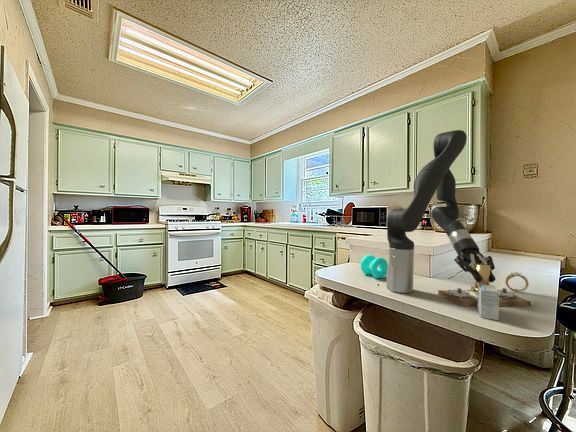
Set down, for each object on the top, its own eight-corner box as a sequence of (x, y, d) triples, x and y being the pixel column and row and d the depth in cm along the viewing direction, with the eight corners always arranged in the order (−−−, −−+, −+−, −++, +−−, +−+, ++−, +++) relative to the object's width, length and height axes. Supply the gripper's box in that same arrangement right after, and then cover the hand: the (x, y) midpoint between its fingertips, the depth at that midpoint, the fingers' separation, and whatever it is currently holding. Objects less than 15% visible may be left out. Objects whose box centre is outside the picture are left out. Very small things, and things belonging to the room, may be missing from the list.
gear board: (460, 306, 85) (460, 300, 85) (438, 294, 97) (438, 289, 97) (530, 305, 86) (531, 300, 86) (500, 294, 98) (500, 289, 98)
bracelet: (505, 291, 102) (506, 271, 102) (504, 289, 105) (505, 270, 104) (529, 294, 98) (529, 274, 98) (527, 292, 101) (527, 272, 101)
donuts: (374, 273, 129) (374, 253, 129) (389, 277, 120) (389, 257, 120) (359, 274, 125) (359, 255, 125) (373, 280, 116) (373, 258, 116)
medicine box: (498, 321, 74) (499, 292, 74) (479, 317, 76) (480, 289, 76) (494, 312, 81) (495, 285, 80) (477, 309, 83) (477, 283, 83)
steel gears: (456, 298, 88) (456, 291, 88) (443, 292, 95) (443, 285, 95) (522, 298, 89) (522, 291, 89) (505, 292, 95) (505, 285, 95)
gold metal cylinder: (479, 294, 88) (480, 266, 88) (466, 289, 95) (467, 262, 94) (497, 294, 89) (498, 266, 88) (483, 289, 95) (484, 262, 95)
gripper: (450, 237, 98) (473, 275, 87) (485, 237, 99) (513, 275, 87) (441, 248, 104) (461, 286, 92) (474, 248, 104) (499, 286, 93)
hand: (486, 280), depth 90 cm, fingers closed on gold metal cylinder, 4 cm apart
